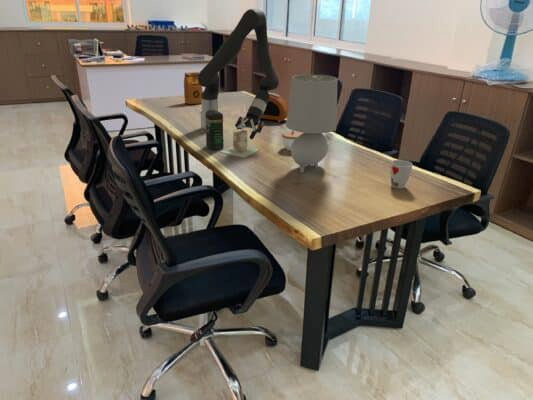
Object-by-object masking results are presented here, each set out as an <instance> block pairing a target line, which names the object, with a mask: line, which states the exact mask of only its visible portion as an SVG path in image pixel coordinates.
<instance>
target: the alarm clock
mask: <svg viewBox="0 0 533 400" xmlns="http://www.w3.org/2000/svg"><path fill="white" fill-rule="evenodd" d="M268 93H269V95H270V98H269V101H268V103H267V105H266V108H265V111H264V113H263V115H262V117H261V119H262V120H263V119H264V120H273V121H277V122H278V123H280V122H283V121H284V120H287V113H288V105H289V104H288V103H287V102H286V100H285V99H284V98H283V97H281V95H280V94H277V93H273V92H268Z"/></svg>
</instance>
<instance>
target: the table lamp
mask: <svg viewBox="0 0 533 400" xmlns="http://www.w3.org/2000/svg"><path fill="white" fill-rule="evenodd" d="M338 80H339V79H338V77H337V78H336V77H335V76H330V75H324V74H323V75H322V74H296V75H293V76H292V77H291V83H290V90H289V98H288V104H287V105H288V113H287V118H286V123H285V127H286V128H288V129H289V130H291V131H295V132H300V133H302V134H301V135H300V136H298V137H297V138H296V139H295V140H294V142H293V144H292V147H291V151H290V154H291V157H292V159H293V161H294V162H295V164H297V165H298V166H299V172H300V174H302V173H304V172H305V167H307V166H308V167H309V166H313V167H314V168H318V164H319V163H320V162H321V161H322V160H323V159H325V158H326V156H327V154H328V150H329V143H328V139H327V138H326V136H325V135H324V134H328V133H332V132H335V131H336V130H337V120H338V119H337V118H338V117H337V113H338V111H337V108H338V107H337V106H338Z"/></svg>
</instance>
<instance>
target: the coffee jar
mask: <svg viewBox="0 0 533 400" xmlns="http://www.w3.org/2000/svg"><path fill="white" fill-rule="evenodd" d="M205 119H206V130H205V134H206V135H205V138H206V139H205V140H206V143H205V144H206V147H207V149H210V150H217V151H218V150H221V149H224V114H223V113H222V112H220V111H219V110H218V111H216V110H208V111H207V112H206V115H205Z"/></svg>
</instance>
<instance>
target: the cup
mask: <svg viewBox="0 0 533 400" xmlns="http://www.w3.org/2000/svg"><path fill="white" fill-rule="evenodd" d="M412 169H413V163H412V162H410V161H408V160H402V159H395V160H394V159H393V160H391V166H390V184H391V187H392V188H394V189H399V190H400V189H404V188H405V187H406V185H407V184H408V181H409V178H410V176H411V172H412Z"/></svg>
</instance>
